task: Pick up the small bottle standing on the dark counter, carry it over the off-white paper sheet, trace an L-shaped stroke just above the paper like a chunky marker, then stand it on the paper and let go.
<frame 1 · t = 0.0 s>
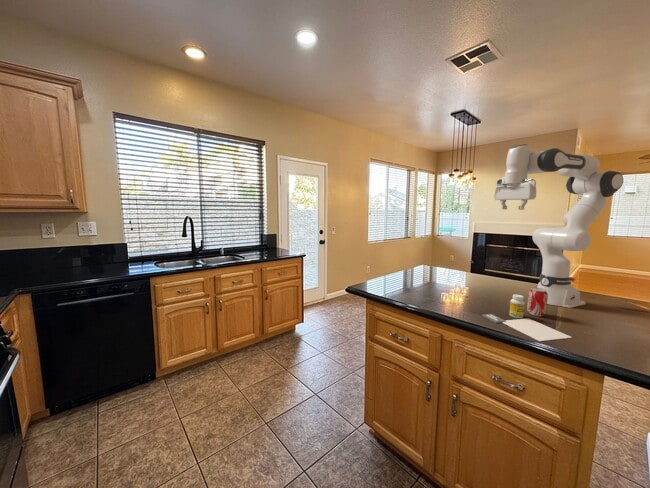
hand: (512, 209, 134), 48 cm above the countertop, fingers open, 8 cm apart
paper sheet: (533, 329, 113), on the countertop
soda can: (535, 314, 129), on the countertop
supplement bottle: (515, 316, 127), on the countertop
word card: (493, 318, 123), on the countertop
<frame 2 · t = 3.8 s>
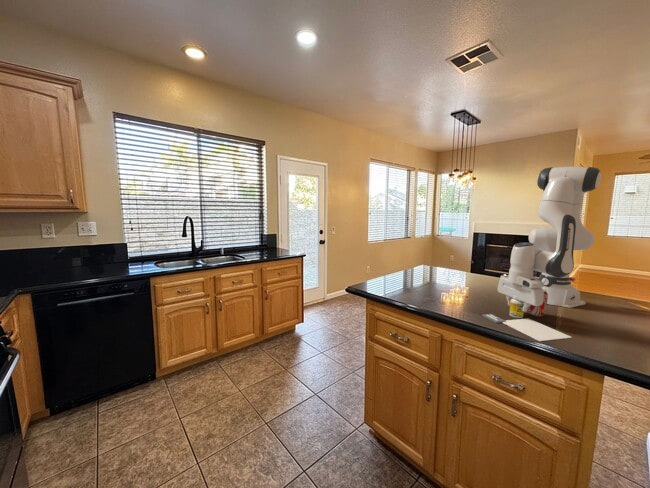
hand: (516, 308, 126), 4 cm above the countertop, fingers closed on supplement bottle, 5 cm apart
supplement bottle: (516, 316, 127), on the countertop, touching gripper
everything else where it was.
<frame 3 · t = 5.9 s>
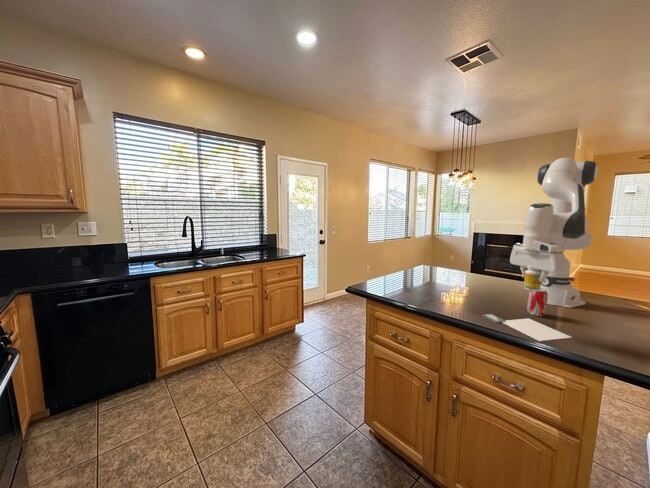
hand: (533, 279, 111), 21 cm above the countertop, fingers closed on supplement bottle, 5 cm apart
supplement bottle: (531, 289, 111), point 16 cm above the countertop, touching gripper
everything else where it was.
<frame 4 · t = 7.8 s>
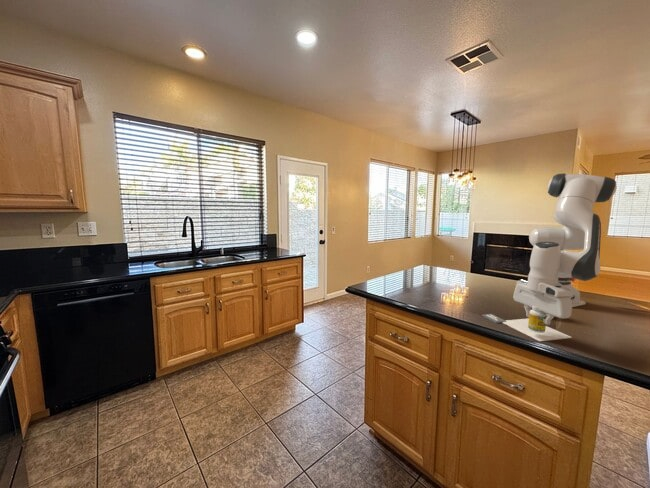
hand: (537, 320, 107), 6 cm above the countertop, fingers closed on supplement bottle, 5 cm apart
supplement bottle: (536, 330, 107), point 2 cm above the countertop, touching gripper
everything else where it was.
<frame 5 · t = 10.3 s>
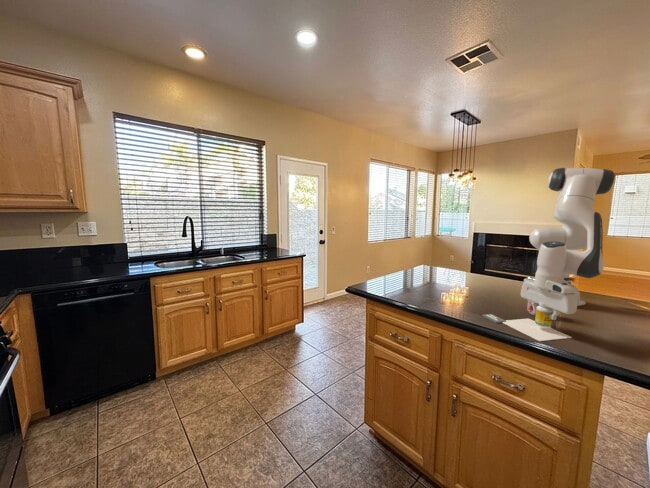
hand: (544, 315, 112), 6 cm above the countertop, fingers closed on supplement bottle, 5 cm apart
supplement bottle: (542, 325, 113), point 2 cm above the countertop, touching gripper
everything else where it was.
when the fingers open (4 cm above the countertop, at t = 12.0 s): supplement bottle stays where it is, resting on paper sheet.
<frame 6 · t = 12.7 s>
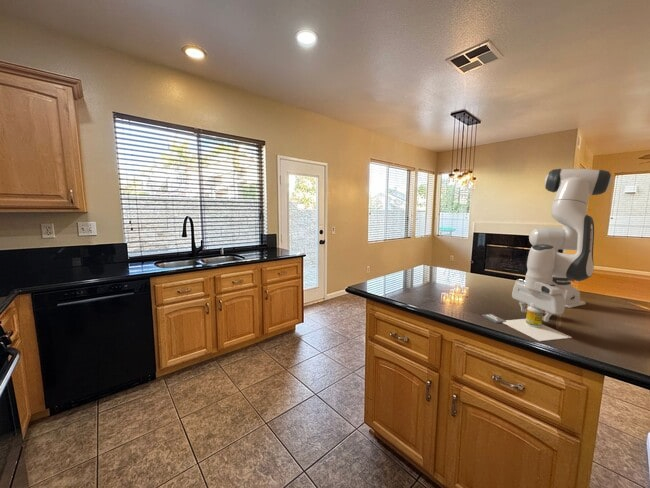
hand: (534, 316, 116), 4 cm above the countertop, fingers open, 8 cm apart
supplement bottle: (533, 325, 117), resting on paper sheet
everything else where it was.
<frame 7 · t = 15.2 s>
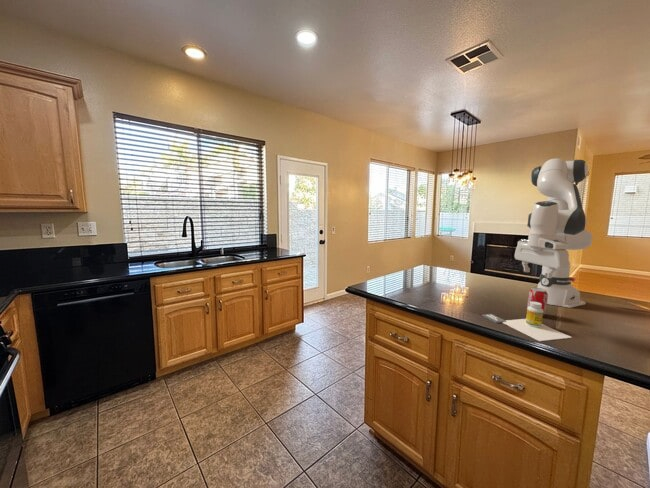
hand: (537, 274, 115), 21 cm above the countertop, fingers open, 8 cm apart
nothing on the countertop moved.
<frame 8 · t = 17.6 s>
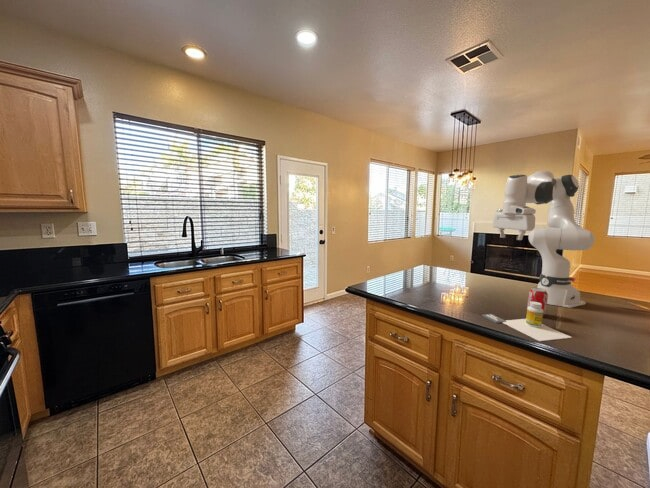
hand: (510, 238, 134), 34 cm above the countertop, fingers open, 8 cm apart
nothing on the countertop moved.
at the end: supplement bottle inside the target area (4.1 cm from its centre), resting on paper sheet; supplement bottle tilted 0°; the gripper is holding nothing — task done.
